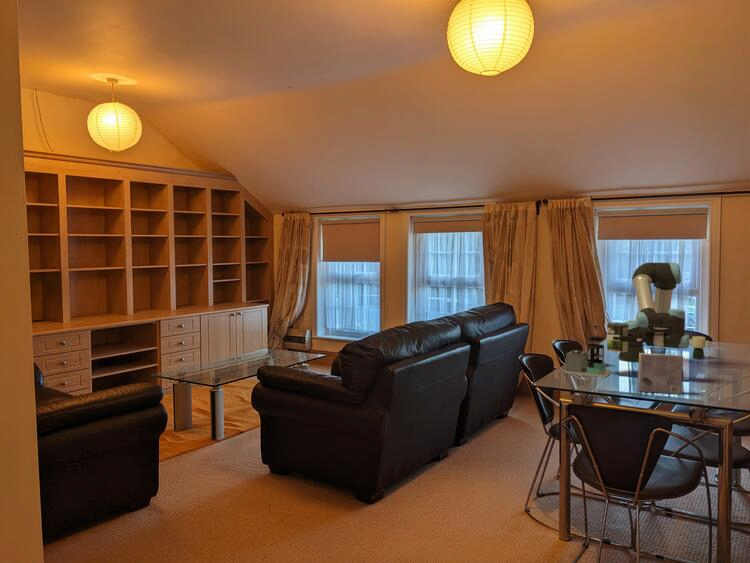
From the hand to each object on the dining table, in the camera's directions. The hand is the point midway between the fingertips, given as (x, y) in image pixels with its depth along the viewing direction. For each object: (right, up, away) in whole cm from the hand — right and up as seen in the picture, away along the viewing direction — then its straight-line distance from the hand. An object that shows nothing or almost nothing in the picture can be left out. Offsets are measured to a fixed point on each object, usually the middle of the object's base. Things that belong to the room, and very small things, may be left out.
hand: (609, 335), depth 313 cm
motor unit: (-10, -20, +2) cm, 22 cm away
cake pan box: (+8, -22, -41) cm, 47 cm away
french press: (0, -19, +20) cm, 27 cm away
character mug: (+70, -18, +42) cm, 84 cm away
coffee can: (+4, -8, -2) cm, 9 cm away
